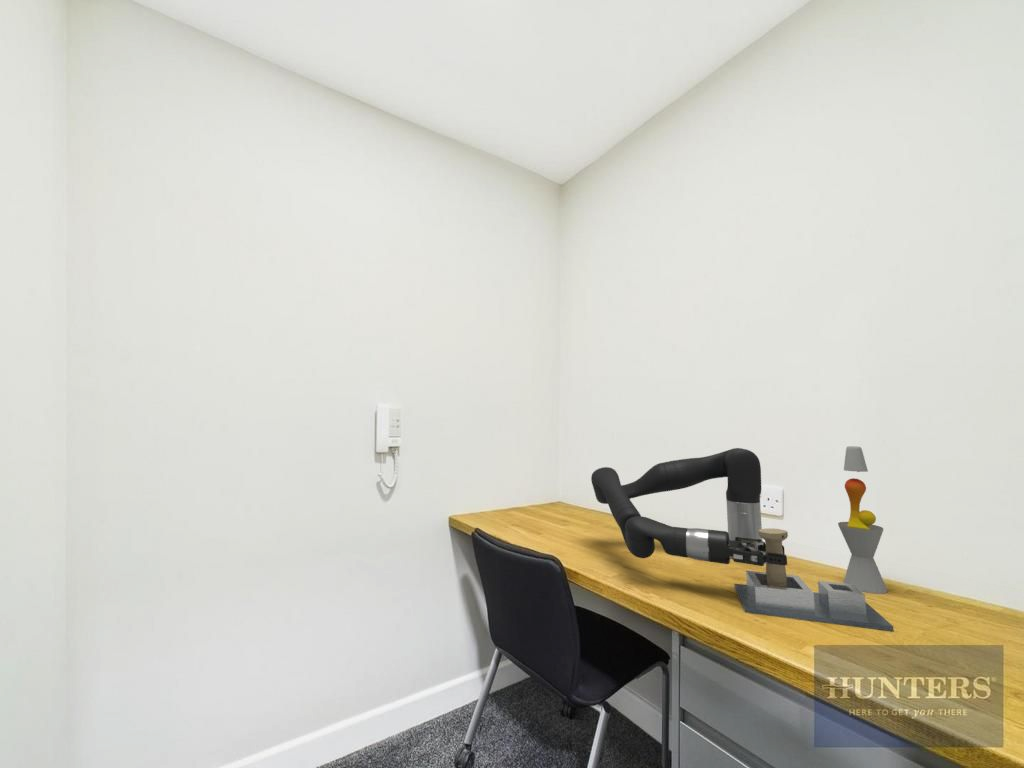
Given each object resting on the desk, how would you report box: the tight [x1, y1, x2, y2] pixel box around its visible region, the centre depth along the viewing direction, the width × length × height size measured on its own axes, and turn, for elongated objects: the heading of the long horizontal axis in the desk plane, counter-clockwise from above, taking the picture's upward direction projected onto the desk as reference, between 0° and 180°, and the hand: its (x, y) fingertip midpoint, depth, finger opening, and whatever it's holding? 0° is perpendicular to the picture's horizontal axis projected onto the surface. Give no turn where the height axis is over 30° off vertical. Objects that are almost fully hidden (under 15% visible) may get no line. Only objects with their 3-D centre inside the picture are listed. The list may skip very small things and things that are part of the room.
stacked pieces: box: [837, 445, 889, 595], centre depth 109 cm, size 9×9×35 cm
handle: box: [758, 528, 789, 588], centre depth 98 cm, size 5×6×15 cm
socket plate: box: [733, 570, 894, 632], centre depth 95 cm, size 15×26×5 cm, turn 70°
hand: (785, 555), depth 97 cm, fingers open, 8 cm apart
